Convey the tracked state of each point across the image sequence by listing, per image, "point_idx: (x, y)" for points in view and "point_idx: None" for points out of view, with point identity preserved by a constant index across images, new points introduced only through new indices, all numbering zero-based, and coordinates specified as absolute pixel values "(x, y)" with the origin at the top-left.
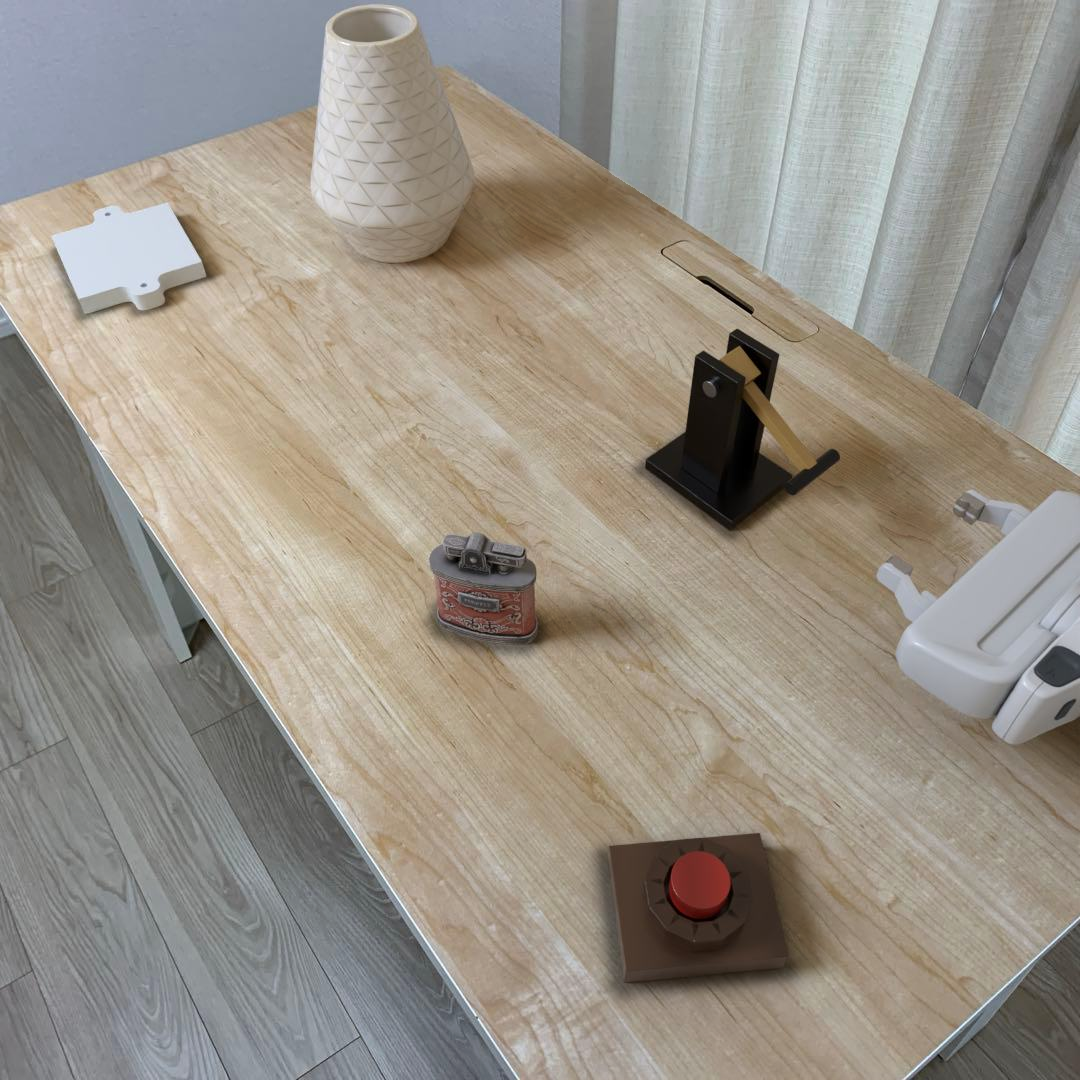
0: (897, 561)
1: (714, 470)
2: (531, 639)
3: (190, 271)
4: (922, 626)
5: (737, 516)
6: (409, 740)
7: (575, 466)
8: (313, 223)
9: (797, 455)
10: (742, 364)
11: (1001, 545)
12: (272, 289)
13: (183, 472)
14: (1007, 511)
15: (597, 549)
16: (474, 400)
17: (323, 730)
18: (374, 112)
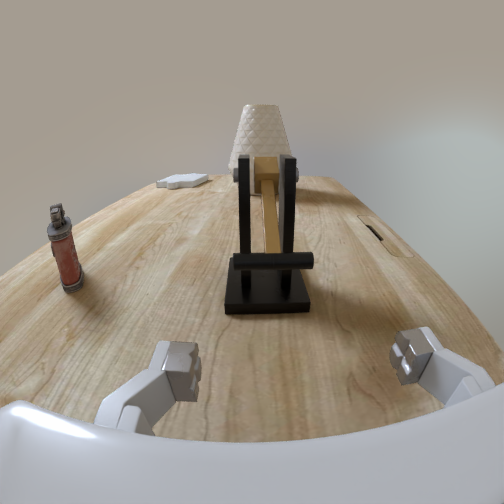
0: (183, 349)
1: None
2: (67, 290)
3: (188, 183)
4: (19, 414)
5: (233, 303)
6: (7, 289)
7: (201, 252)
8: None
9: (264, 238)
10: (267, 164)
11: (393, 430)
12: (203, 191)
13: (108, 213)
14: (462, 376)
15: (148, 281)
16: (205, 223)
17: (10, 272)
18: (246, 126)
